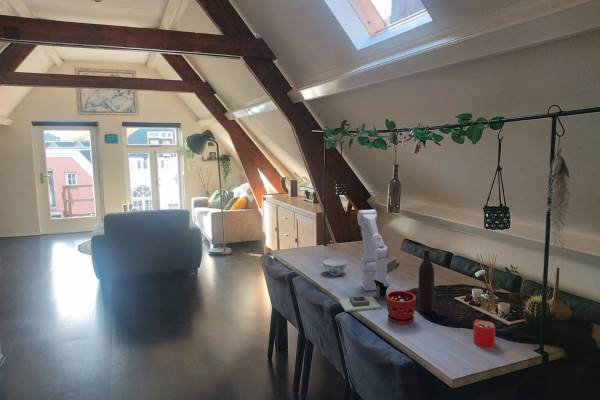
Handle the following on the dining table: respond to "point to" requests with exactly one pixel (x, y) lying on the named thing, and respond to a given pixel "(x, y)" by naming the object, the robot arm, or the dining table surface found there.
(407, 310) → the plant pot
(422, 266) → the wine bottle
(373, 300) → the end holder
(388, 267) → the handheld radio
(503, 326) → the dining table surface
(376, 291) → the connector plug
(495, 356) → the dining table surface
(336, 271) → the chinaware
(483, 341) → the red cylinder
